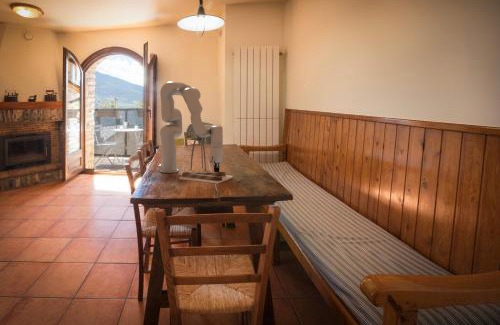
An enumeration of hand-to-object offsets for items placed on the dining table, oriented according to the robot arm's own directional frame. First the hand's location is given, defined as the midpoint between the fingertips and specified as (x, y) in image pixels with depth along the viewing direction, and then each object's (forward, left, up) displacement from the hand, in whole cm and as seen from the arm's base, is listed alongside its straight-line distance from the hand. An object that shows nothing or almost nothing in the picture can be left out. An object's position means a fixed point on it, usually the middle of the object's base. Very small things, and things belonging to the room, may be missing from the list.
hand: (216, 173), depth 240 cm
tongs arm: (-2, -7, -1) cm, 7 cm away
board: (-1, -10, -2) cm, 10 cm away
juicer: (-21, +14, -2) cm, 25 cm away
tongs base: (-1, -16, -1) cm, 16 cm away
